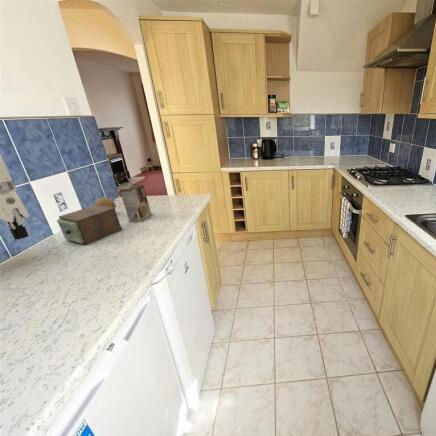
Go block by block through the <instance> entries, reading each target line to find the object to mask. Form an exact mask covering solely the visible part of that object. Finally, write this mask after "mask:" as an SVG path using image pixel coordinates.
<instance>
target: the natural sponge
mask: <svg viewBox="0 0 436 436" xmlns="http://www.w3.org/2000/svg"><path fill="white" fill-rule="evenodd" d="M94 205H101V206H106V207H112V208H115V209H116V208H117V205H116V202H115V201H114V199H111V198H110V197H104V196H103V197H99V198H98V199H97V200H96V202H95V203H94Z"/></svg>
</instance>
